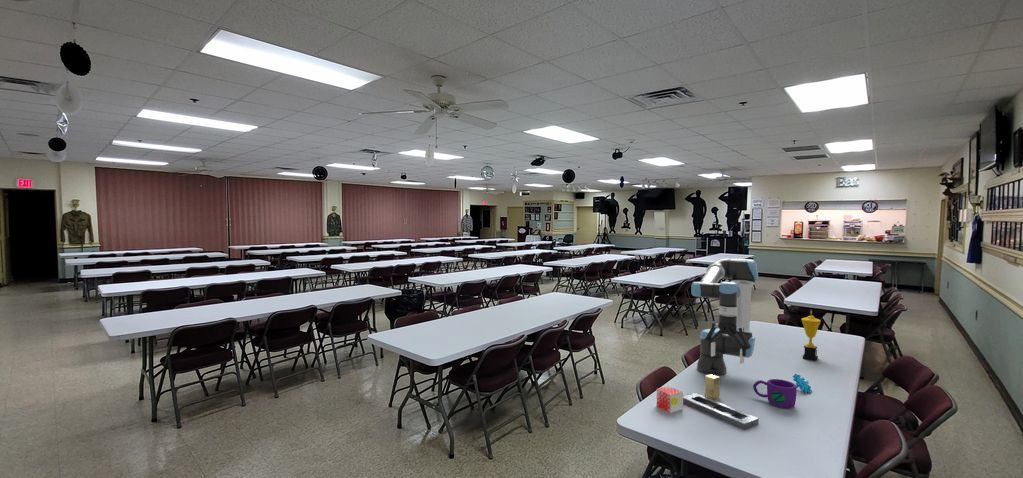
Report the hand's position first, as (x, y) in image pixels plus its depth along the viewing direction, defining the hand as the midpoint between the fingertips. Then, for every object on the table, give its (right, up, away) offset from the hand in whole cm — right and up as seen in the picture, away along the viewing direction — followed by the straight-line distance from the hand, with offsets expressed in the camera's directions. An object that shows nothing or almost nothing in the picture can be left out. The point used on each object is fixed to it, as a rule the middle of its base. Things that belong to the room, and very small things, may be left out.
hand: (727, 359), depth 200 cm
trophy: (+81, -17, +59) cm, 102 cm away
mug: (+19, -19, -6) cm, 27 cm away
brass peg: (-7, -18, +1) cm, 19 cm away
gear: (+42, -18, +9) cm, 46 cm away
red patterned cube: (-31, -19, -10) cm, 38 cm away
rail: (-12, -19, -16) cm, 28 cm away
